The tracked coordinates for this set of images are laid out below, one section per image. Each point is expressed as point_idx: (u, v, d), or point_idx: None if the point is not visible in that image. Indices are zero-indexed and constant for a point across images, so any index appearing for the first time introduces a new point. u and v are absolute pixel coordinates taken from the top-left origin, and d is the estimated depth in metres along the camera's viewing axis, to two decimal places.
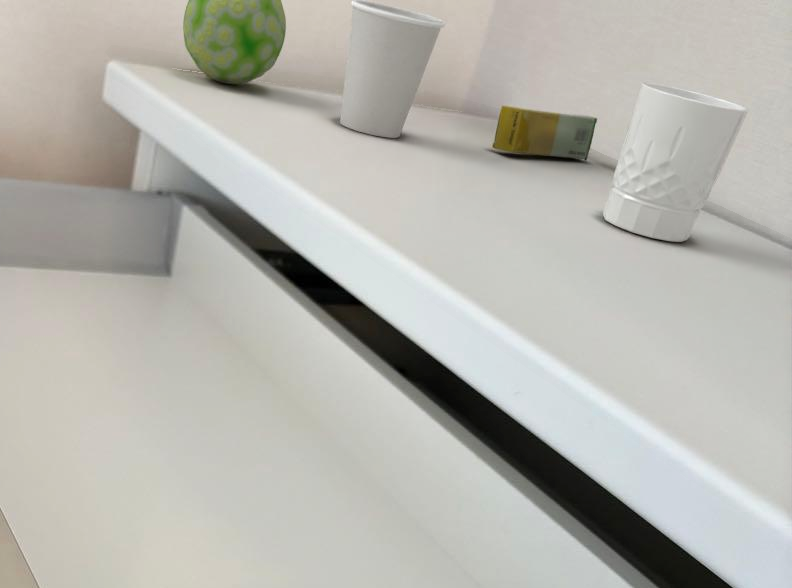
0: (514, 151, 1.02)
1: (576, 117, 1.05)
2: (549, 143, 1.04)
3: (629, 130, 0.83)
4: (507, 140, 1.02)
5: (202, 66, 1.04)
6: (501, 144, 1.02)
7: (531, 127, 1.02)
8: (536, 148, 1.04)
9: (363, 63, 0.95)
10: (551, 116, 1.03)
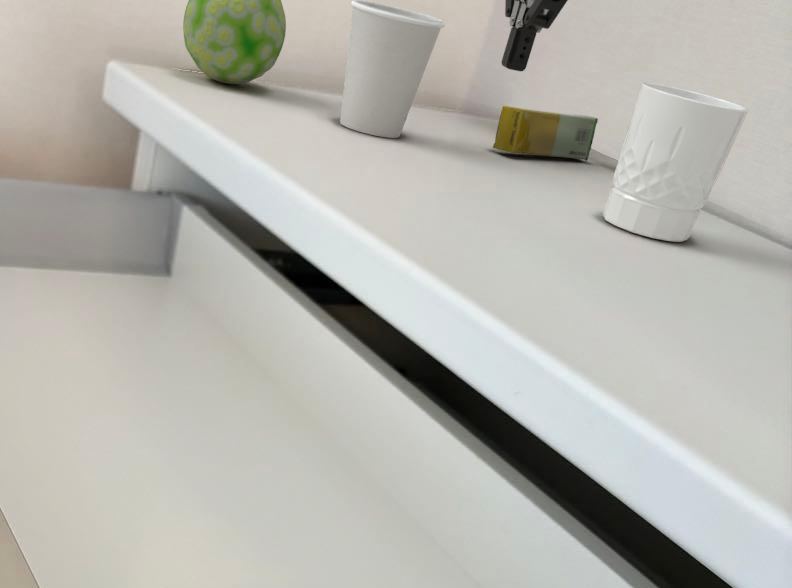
0: (515, 151, 1.02)
1: (577, 117, 1.05)
2: (550, 143, 1.04)
3: (629, 130, 0.83)
4: (508, 140, 1.02)
5: (202, 66, 1.04)
6: (502, 144, 1.02)
7: (532, 127, 1.02)
8: (537, 148, 1.04)
9: (363, 63, 0.95)
10: (552, 117, 1.03)
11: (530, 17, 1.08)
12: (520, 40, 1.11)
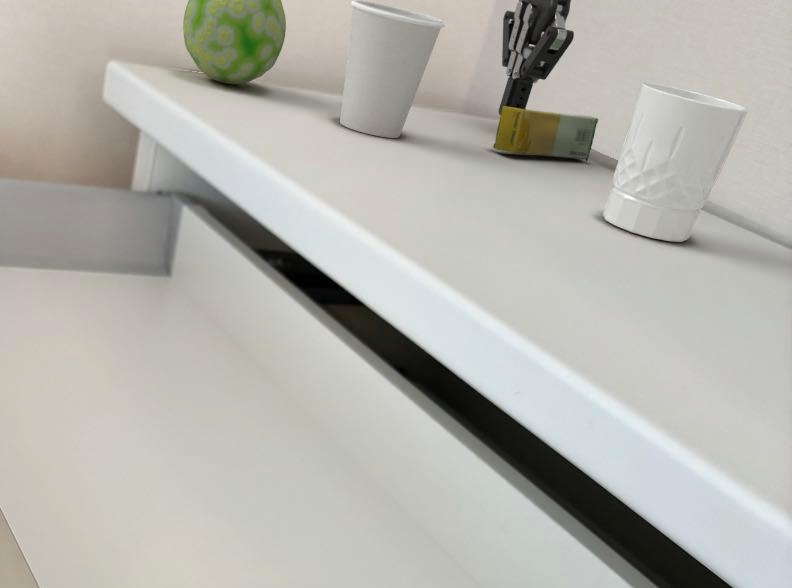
0: (515, 151, 1.02)
1: (577, 117, 1.05)
2: (550, 144, 1.04)
3: (629, 130, 0.83)
4: (508, 140, 1.02)
5: (202, 66, 1.04)
6: (502, 144, 1.02)
7: (532, 127, 1.02)
8: (538, 149, 1.03)
9: (363, 63, 0.95)
10: (552, 117, 1.03)
11: (526, 69, 1.08)
12: (517, 90, 1.11)
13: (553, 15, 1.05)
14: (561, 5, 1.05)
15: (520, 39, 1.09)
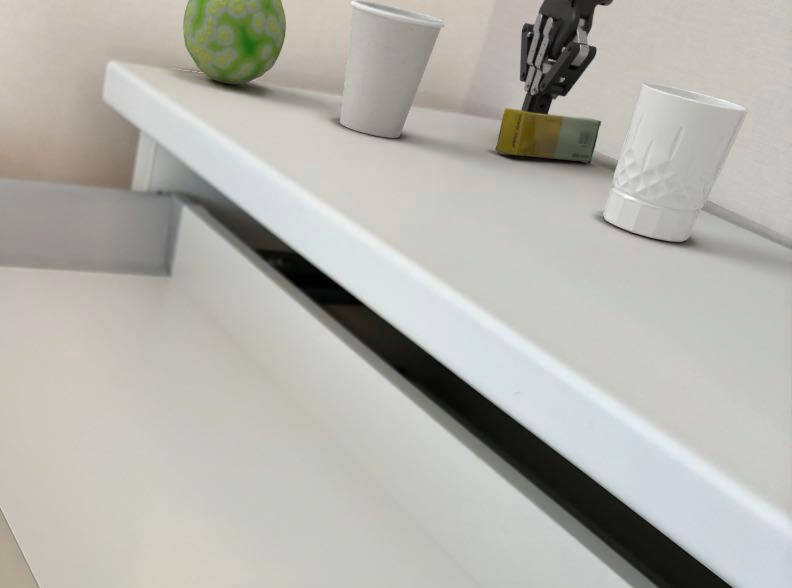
0: (517, 154, 1.01)
1: (580, 120, 1.05)
2: (553, 146, 1.04)
3: (629, 130, 0.83)
4: (510, 142, 1.01)
5: (202, 66, 1.04)
6: (504, 147, 1.02)
7: (534, 129, 1.01)
8: (540, 151, 1.03)
9: (363, 63, 0.95)
10: (555, 119, 1.03)
11: (546, 85, 1.03)
12: (535, 107, 1.06)
13: (575, 30, 1.00)
14: (583, 19, 1.00)
15: (539, 54, 1.04)
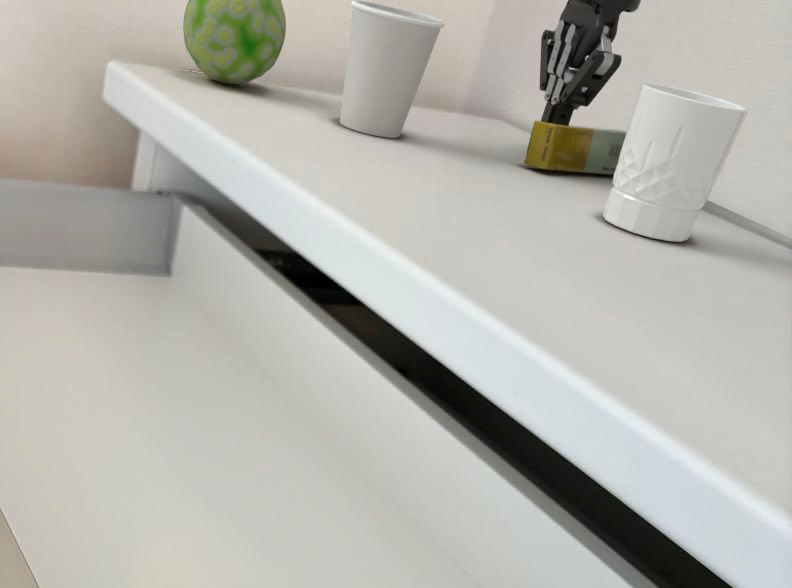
0: (547, 168, 0.98)
1: (610, 132, 1.01)
2: (583, 160, 1.01)
3: (629, 130, 0.83)
4: (540, 156, 0.98)
5: (202, 66, 1.04)
6: (533, 160, 0.99)
7: (565, 143, 0.98)
8: (570, 165, 1.00)
9: (363, 63, 0.95)
10: (585, 132, 0.99)
11: (568, 95, 0.99)
12: (556, 117, 1.02)
13: (599, 37, 0.96)
14: (608, 26, 0.96)
15: (561, 62, 1.00)
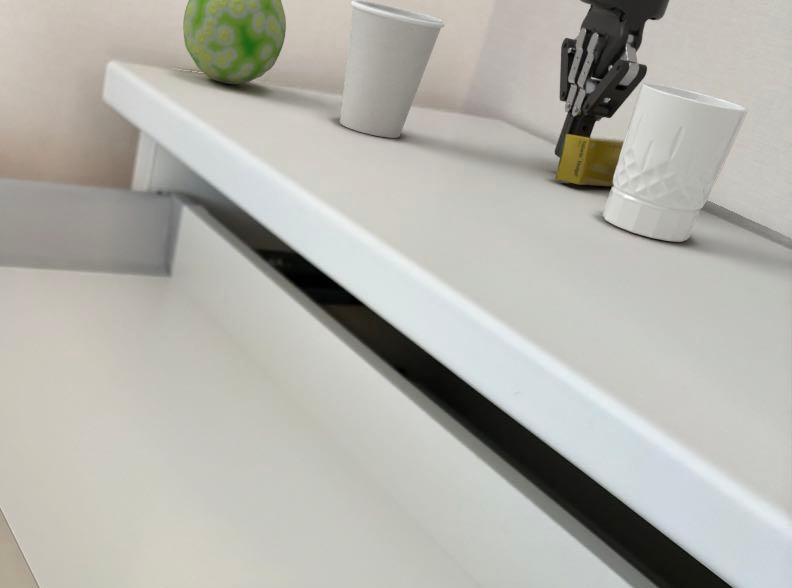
0: (580, 183, 0.95)
1: None
2: None
3: (629, 130, 0.83)
4: (572, 171, 0.95)
5: (202, 66, 1.04)
6: (565, 175, 0.95)
7: (598, 157, 0.95)
8: (602, 179, 0.97)
9: (363, 63, 0.95)
10: (618, 145, 0.96)
11: (590, 106, 0.95)
12: (577, 129, 0.98)
13: (624, 46, 0.92)
14: (632, 35, 0.92)
15: (583, 72, 0.96)
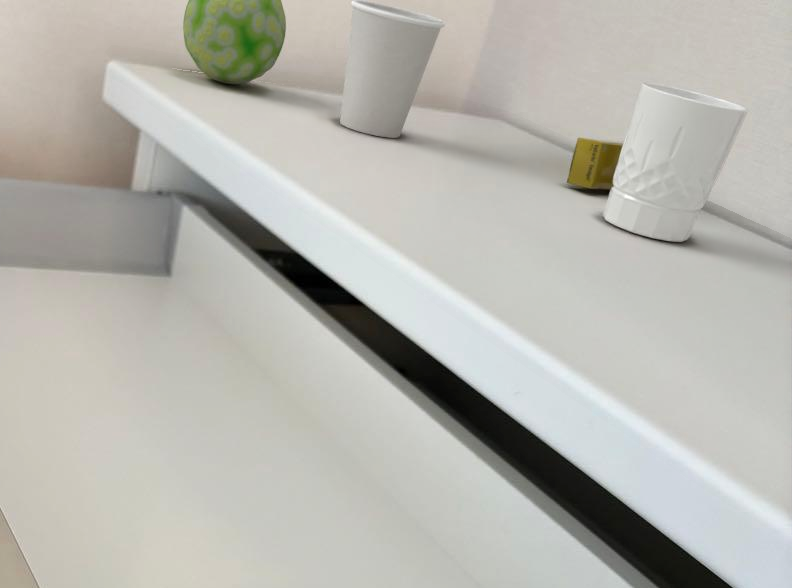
0: (592, 187, 0.94)
1: None
2: None
3: (629, 130, 0.83)
4: (584, 175, 0.94)
5: (202, 66, 1.04)
6: (577, 179, 0.94)
7: (610, 161, 0.94)
8: None
9: (363, 63, 0.95)
10: None
11: None
12: None
13: None
14: None
15: None
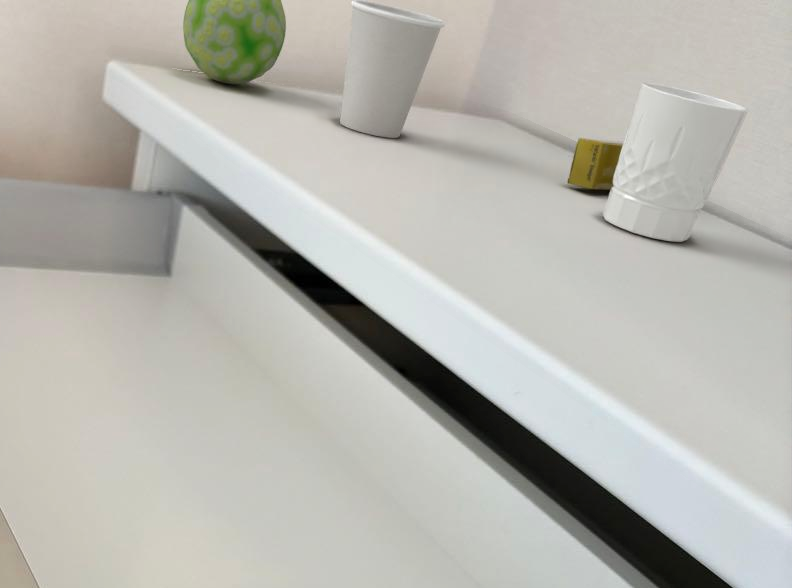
0: (593, 187, 0.94)
1: None
2: None
3: (629, 130, 0.83)
4: (585, 175, 0.94)
5: (202, 66, 1.04)
6: (578, 180, 0.94)
7: (610, 161, 0.94)
8: None
9: (363, 63, 0.95)
10: None
11: None
12: None
13: None
14: None
15: None
